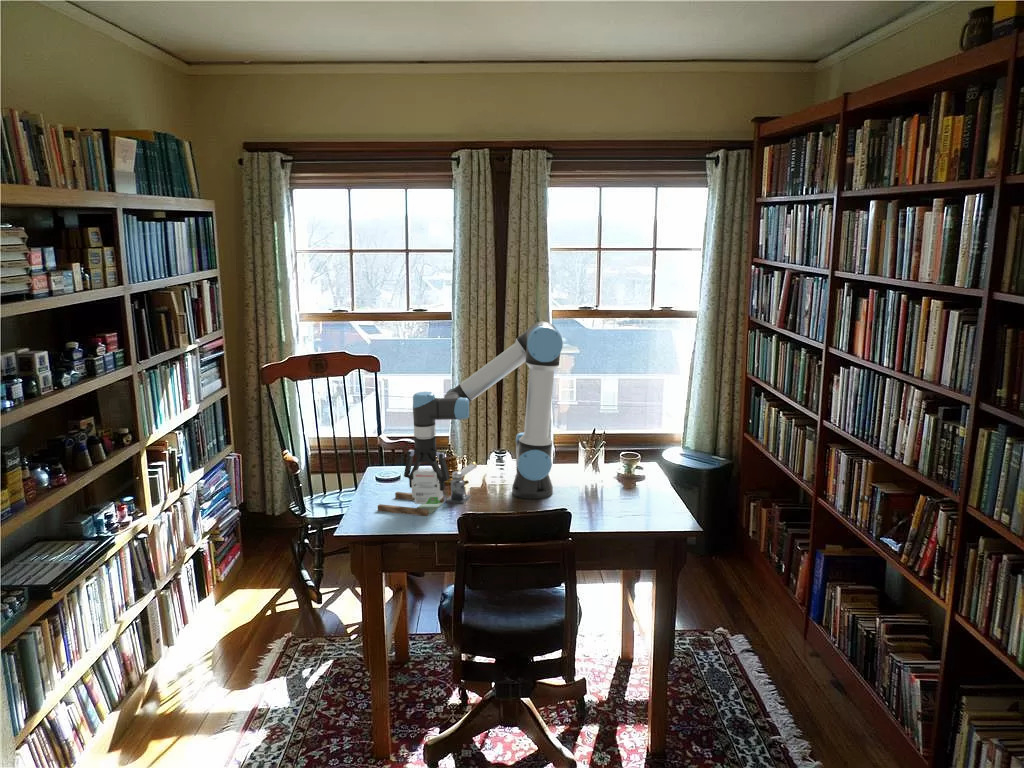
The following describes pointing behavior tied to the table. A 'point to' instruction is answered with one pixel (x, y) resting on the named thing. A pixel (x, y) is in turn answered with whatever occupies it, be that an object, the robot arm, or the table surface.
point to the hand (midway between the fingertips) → (427, 497)
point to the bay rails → (405, 509)
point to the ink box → (425, 486)
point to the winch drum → (458, 492)
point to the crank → (463, 471)
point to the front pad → (430, 507)
